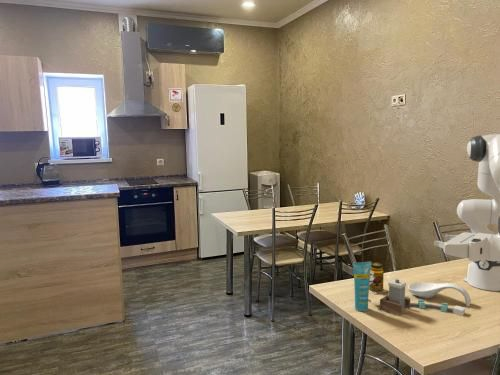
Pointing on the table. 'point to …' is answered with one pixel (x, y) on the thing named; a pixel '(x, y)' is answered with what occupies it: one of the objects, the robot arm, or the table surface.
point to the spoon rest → (435, 290)
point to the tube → (361, 284)
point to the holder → (393, 305)
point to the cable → (455, 310)
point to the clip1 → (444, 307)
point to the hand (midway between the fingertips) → (439, 240)
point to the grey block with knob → (397, 292)
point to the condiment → (377, 278)
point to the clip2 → (421, 304)
